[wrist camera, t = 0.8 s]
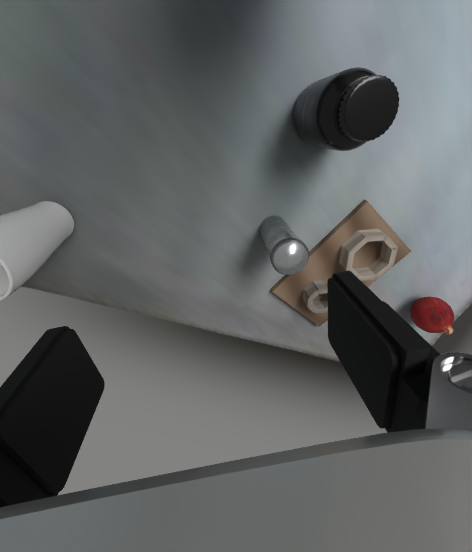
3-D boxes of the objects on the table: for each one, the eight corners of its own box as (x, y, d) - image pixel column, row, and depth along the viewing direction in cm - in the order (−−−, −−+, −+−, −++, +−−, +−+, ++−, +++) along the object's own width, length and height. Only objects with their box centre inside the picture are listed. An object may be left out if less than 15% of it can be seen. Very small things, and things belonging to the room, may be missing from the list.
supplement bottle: (324, 155, 35) (372, 170, 25) (281, 127, 33) (313, 129, 23) (359, 101, 33) (429, 91, 22) (314, 66, 31) (368, 37, 20)
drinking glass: (92, 231, 38) (30, 289, 25) (51, 250, 38) (-30, 315, 25) (58, 185, 34) (-34, 223, 21) (14, 206, 35) (-101, 256, 22)
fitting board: (364, 199, 39) (377, 206, 36) (407, 248, 43) (422, 258, 40) (271, 288, 45) (275, 300, 42) (317, 323, 49) (324, 336, 46)
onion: (395, 300, 48) (427, 330, 41) (426, 282, 47) (464, 310, 40) (407, 319, 51) (438, 351, 44) (437, 302, 49) (474, 332, 42)
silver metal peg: (273, 208, 38) (292, 233, 30) (294, 227, 40) (317, 256, 31) (252, 231, 40) (264, 261, 31) (273, 248, 41) (290, 282, 33)
